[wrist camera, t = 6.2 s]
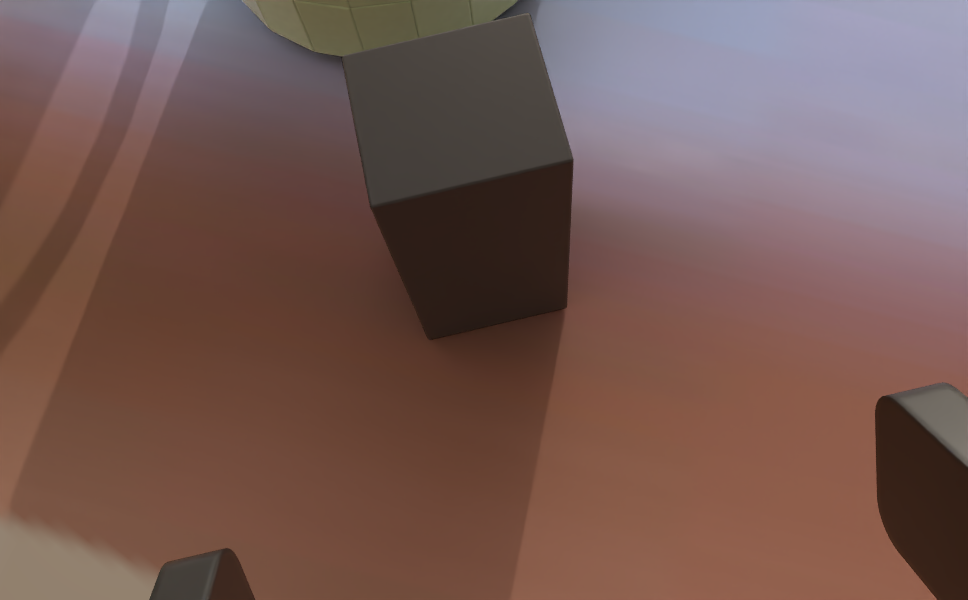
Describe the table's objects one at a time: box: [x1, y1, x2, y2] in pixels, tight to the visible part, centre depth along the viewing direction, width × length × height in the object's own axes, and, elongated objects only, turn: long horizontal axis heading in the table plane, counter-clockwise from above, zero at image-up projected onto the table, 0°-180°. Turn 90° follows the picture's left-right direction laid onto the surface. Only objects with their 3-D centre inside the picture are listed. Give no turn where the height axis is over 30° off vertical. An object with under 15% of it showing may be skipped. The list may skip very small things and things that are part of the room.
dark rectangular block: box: [342, 13, 573, 340], centre depth 23 cm, size 4×4×9 cm
